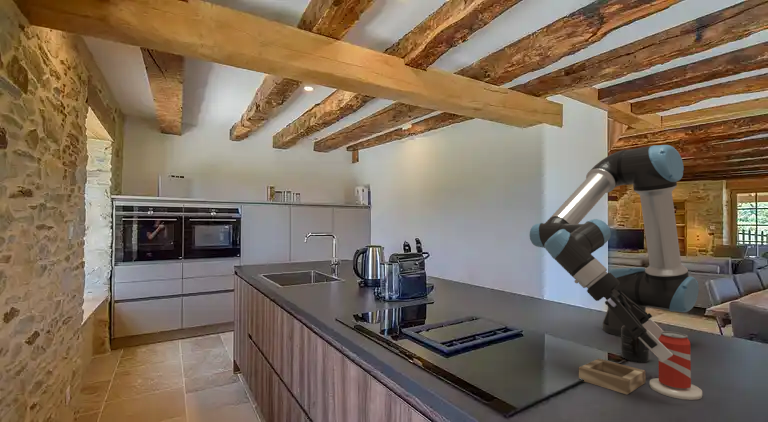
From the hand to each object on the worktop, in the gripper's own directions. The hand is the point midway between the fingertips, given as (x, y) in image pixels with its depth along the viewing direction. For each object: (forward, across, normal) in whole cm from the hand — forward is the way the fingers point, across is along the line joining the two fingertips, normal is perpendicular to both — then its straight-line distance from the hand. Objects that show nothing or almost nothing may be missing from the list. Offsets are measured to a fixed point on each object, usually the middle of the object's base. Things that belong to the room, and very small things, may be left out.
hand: (667, 350), depth 96 cm
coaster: (+7, 0, -5) cm, 9 cm away
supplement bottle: (+1, -20, -12) cm, 24 cm away
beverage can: (+7, 0, -5) cm, 8 cm away
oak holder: (-2, +3, -14) cm, 15 cm away
